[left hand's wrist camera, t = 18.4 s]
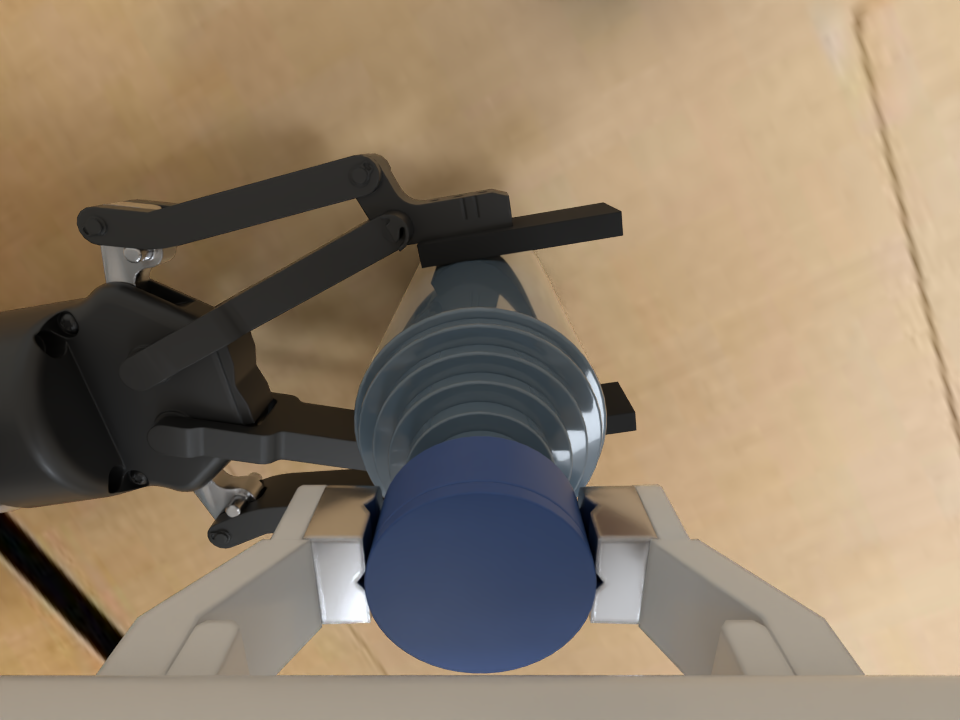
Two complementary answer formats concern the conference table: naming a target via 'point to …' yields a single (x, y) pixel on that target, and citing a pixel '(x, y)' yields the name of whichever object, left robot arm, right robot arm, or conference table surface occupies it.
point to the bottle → (480, 371)
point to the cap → (480, 557)
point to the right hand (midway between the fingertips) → (618, 317)
